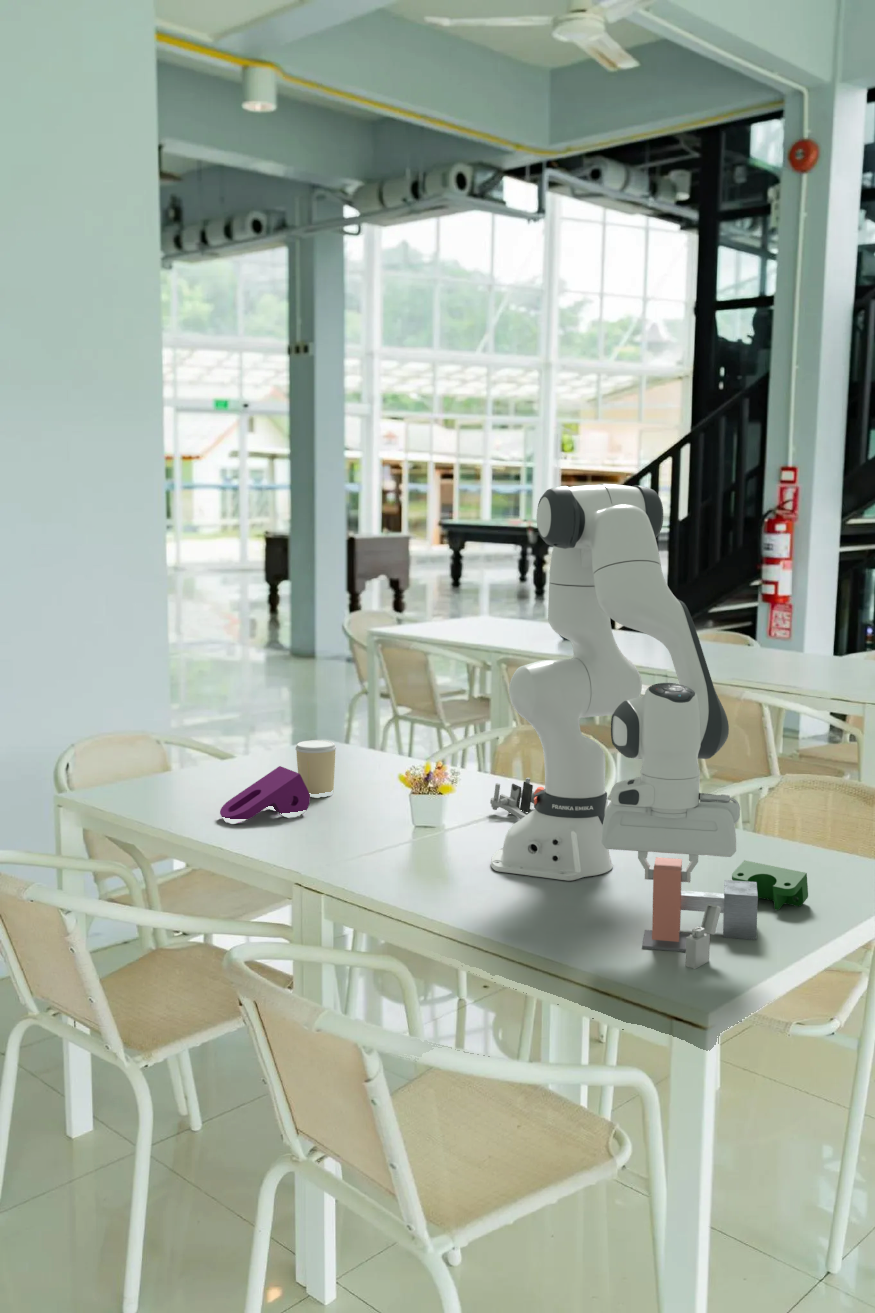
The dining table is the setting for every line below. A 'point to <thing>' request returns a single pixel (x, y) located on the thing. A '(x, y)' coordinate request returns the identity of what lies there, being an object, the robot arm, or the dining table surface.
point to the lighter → (702, 938)
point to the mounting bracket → (269, 795)
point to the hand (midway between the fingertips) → (667, 880)
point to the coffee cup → (316, 765)
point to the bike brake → (514, 799)
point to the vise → (729, 907)
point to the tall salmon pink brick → (666, 899)
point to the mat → (664, 942)
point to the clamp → (774, 883)
